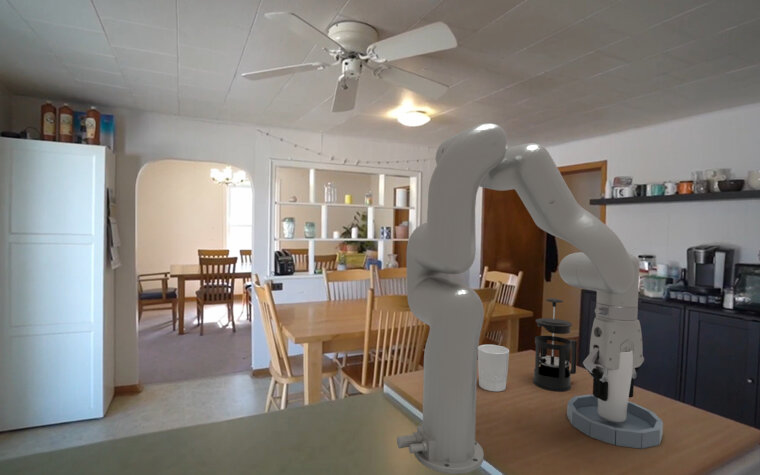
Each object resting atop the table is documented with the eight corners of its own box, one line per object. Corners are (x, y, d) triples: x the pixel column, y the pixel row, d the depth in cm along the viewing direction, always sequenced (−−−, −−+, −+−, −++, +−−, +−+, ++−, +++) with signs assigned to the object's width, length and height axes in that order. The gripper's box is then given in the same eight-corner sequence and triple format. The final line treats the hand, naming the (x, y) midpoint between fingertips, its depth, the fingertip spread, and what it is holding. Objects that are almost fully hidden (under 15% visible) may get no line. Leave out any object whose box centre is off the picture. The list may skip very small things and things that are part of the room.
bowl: (616, 453, 74) (617, 437, 74) (551, 412, 90) (551, 399, 90) (682, 440, 79) (682, 425, 79) (609, 403, 96) (609, 391, 96)
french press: (542, 392, 102) (545, 302, 101) (524, 378, 111) (526, 296, 110) (584, 390, 103) (587, 302, 103) (563, 377, 113) (565, 295, 112)
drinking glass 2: (636, 427, 81) (639, 353, 80) (599, 422, 82) (602, 350, 82) (622, 412, 87) (625, 344, 87) (589, 408, 89) (592, 341, 88)
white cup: (470, 383, 107) (471, 346, 106) (493, 379, 110) (494, 343, 110) (490, 394, 99) (491, 355, 99) (514, 390, 103) (515, 351, 103)
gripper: (599, 318, 78) (595, 409, 78) (663, 314, 83) (659, 399, 84) (569, 310, 85) (566, 393, 86) (631, 307, 90) (627, 385, 91)
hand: (612, 395), depth 85 cm, fingers closed on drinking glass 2, 6 cm apart
